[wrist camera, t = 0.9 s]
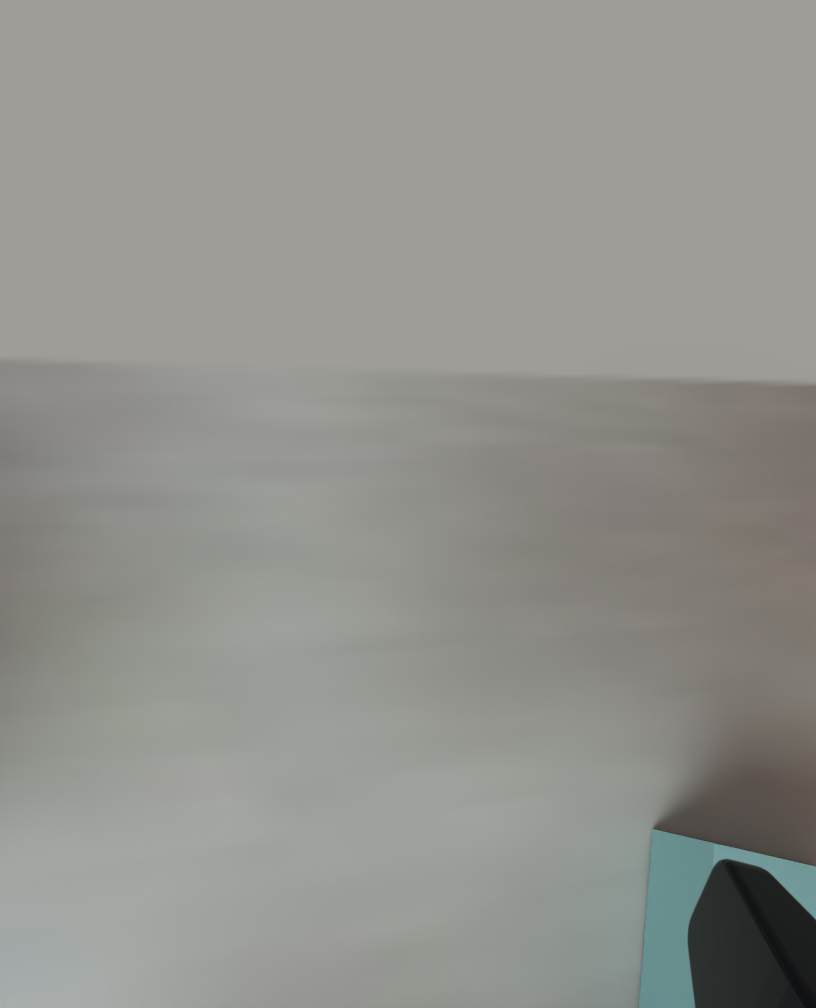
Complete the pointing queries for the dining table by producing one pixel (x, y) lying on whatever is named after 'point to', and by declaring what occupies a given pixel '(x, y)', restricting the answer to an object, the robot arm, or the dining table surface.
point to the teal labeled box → (673, 899)
